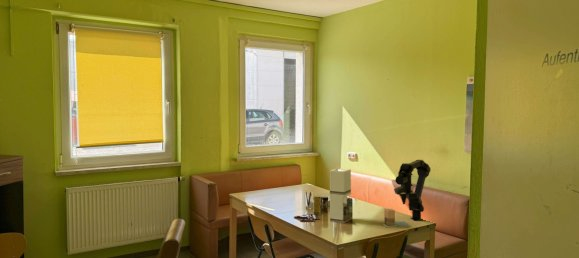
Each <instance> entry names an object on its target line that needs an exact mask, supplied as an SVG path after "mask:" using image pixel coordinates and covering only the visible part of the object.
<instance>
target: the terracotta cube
mask: <svg viewBox="0 0 579 258" xmlns="http://www.w3.org/2000/svg"><path fill="white" fill-rule="evenodd" d="M383 211H384V213H383V214H384V217H386V218H387V219H389V218H395V219H396V210H395V209H393V208H384V210H383Z"/></svg>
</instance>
